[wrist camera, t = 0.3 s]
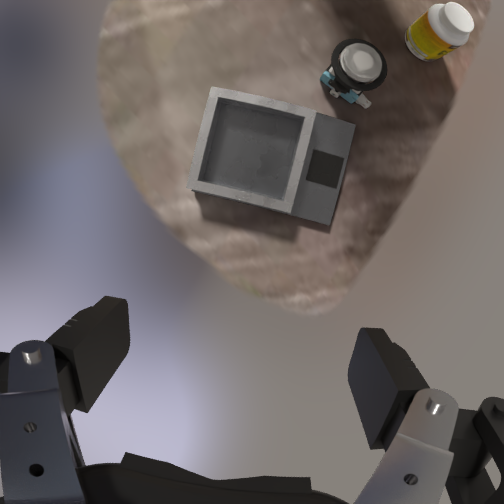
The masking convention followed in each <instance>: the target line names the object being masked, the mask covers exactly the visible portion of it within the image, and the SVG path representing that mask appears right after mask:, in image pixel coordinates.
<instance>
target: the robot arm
mask: <svg viewBox="0 0 504 504" xmlns="http://www.w3.org/2000/svg"><path fill="white" fill-rule="evenodd" d="M129 346H130V330H129V314H128V303H127V301H126V300H125V299H122V298H116V297H110V296H104V297H103V298H102V299H101V300H100V301H99V302H97V303H96V304H95V305H94V306H93V307H92V306H91V307H88V308H86V309H83V310H81V311H79V312H78V313H77V314H75V315H74V316H73V317H72V318H71V320H68V322H66V323H65V325H63V326H62V327H60V328H59V329H58V330H57V331H56V332H55V333H54V334H53V335H51V336H50V337H49V338H48V339H47V340H46V341H45V342H44V341H40V340H30V341H25V342H22V343H20V344H18V345H16V346H15V347H14V348H13V349H12V350H11V352H10V353H6V352H0V467H1V478H2V487H3V495H4V496H3V497H0V504H349V503H347V502H345V501H343V500H341V499H339V498H337V497H335V496H332V495H329V494H327V493H323V492H320V491H316V490H312V489H311V480H310V477H276V476H259V477H250V478H240V479H228V480H212V479H209V478H206V477H204V476H201V475H198V474H195V473H193V472H190V471H187V470H185V469H183V468H180V467H178V466H175V465H173V464H171V463H168V462H163V461H159V460H155V459H150V458H146V457H142V456H138V455H135V454H131V453H127V452H125V455H124V457H123V459H122V461H121V463H102V464H94V465H88V466H86V465H85V462H84V459H83V456H82V453H81V449H80V446H79V443H78V439H77V435H76V432H75V428H74V424H73V420H72V417H71V413H72V411H73V410H74V409H76V410H80V411H82V412H85V413H88V412H89V410H90V409H91V407H92V406H93V404H94V403H95V401H96V400H97V398H98V397H99V395H100V394H101V392H102V391H103V389H104V388H105V386H106V385H107V383H108V382H109V380H110V379H111V377H112V376H113V374H114V373H115V371H116V370H117V369H118V367H119V366H120V364H121V362H122V361H123V360H124V358H125V357H126V355H127V353H128V350H129ZM348 382H349V385H350V388H351V391H352V394H353V397H354V400H355V403H356V406H357V409H358V412H359V415H360V419H361V422H362V424H363V428H364V431H365V434H366V437H367V440H368V444H369V446H370V449H371V450H372V449H384V450H385V455H384V456H383V458H382V460H381V461H380V463H379V465H378V466H377V468H376V470H375V471H374V473H373V474H372V476H371V478H370V479H369V481H368V482H367V484H366V485H365V487H364V489H363V490H362V492H361V493H360V495H359V496H358V498H357V499H356V500H355V502H354V503H353V504H438V503H439V500H440V497H441V495H442V492H443V489H444V486H446V489H447V492H448V495H449V497H450V500H451V503H452V504H504V399H501V398H498V397H489V398H486V399H484V401H483V402H482V404H481V405H480V407H479V409H478V411H475V410H466V409H459V407H458V404H457V402H456V400H455V399H454V398H453V397H452V396H450V395H449V394H448V393H446V392H444V391H441V390H438V389H431V388H430V387H429V386H428V384H427V382H426V381H425V379H424V378H423V376H422V375H421V373H420V372H419V370H418V369H417V368H416V366H415V364H414V363H413V361H411V358H410V357H409V355H408V354H407V352H406V351H405V350H404V349H403V348H401V347H400V346H399V345H397V344H396V343H392V342H391V340H390V338H389V337H388V335H387V334H386V332H385V331H384V330H383V329H381V328H361V329H360V331H359V333H358V336H357V340H356V344H355V347H354V351H353V354H352V357H351V361H350V364H349V368H348ZM492 457H493V459H494V461H495V463H496V465H497V467H498V469H499V471H500V473H501V482H500V485H499V487H498V489H497V490H495V488H494V486H493V484H492V482H491V480H490V477H489V475H488V473H487V471H486V469H485V466H486V465H487V463H488V462H489V461H490V459H491V458H492Z"/></svg>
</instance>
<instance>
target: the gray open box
mask: <svg viewBox="0 0 504 504" xmlns="http://www.w3.org/2000/svg"><path fill="white" fill-rule="evenodd" d="M355 126H356V125H355V124H352V123H349V122H346V121H343V120H340V119H337V118H334V117H330V116H327V115H324V114H320V113H317V112H316V110H313V109H309V108H306V107H302V106H298V105H295V104H291V103H287V102H283V101H279V100H275V99H271V98H266V97H262V96H258V95H253V94H248V93H244V92H239V91H234V90H228V89H223V88H217V87H212V86H211V90H210V93H209V97H208V101H207V104H206V108H205V112H204V116H203V119H202V123H201V127H200V131H199V135H198V139H197V143H196V147H195V151H194V156H193V160H192V164H191V168H190V173H189V177H188V182H187V186H186V188H189V189H192V191H194V192H198V193H203V194H207V195H211V196H216V197H220V198H224V199H228V200H233V201H237V202H241V203H245V204H249V205H253V206H257V207H261V208H265V209H269V210H273V211H277V212H281V213H285V214H289V215H292V216H296V217H300V218H304V219H307V220H311V221H315V222H319V223H322V224H326V225H330V223H331V219H332V216H333V212H334V209H335V205H336V201H337V198H338V194H339V190H340V186H341V183H342V179H343V175H344V171H345V167H346V163H347V159H348V155H349V151H350V147H351V143H352V139H353V134H354V130H355Z"/></svg>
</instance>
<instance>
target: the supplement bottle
mask: <svg viewBox="0 0 504 504" xmlns="http://www.w3.org/2000/svg"><path fill="white" fill-rule="evenodd" d="M473 28H474V22H473V19H472V17H471V15H470V14H469V12H468V11H467V10H466V9H465V8H464V7H462V6H461V5H459V4H457V3H455V2H449V3H447V4H445V5H444V4H435V5H433V6H432V7H430V8H429V9H428V10H427V11H426V12H425V13H424V14H423V15H422V16H420V17H419V18H418V19H417V20H416V21H415V22H414V23H413V24H412V25H411V26H410V27H409V28H408V29H407V30H406V32H405V42H406V44H407V46H408V48H409V50H410V51H411V52H412V53H413V54H414V55H415V56H416V57H418V58H419V59H421V60H424V61H435V60H437V59H439V58H440V57H442V56H444V55H446V54H447V53H449V52H451V51H453V50H454V49H456V48H458V47H460V46H462V45H463V44H465V43H466V42H467V40H468V38H469V33H470V32H471V31H472V30H473Z"/></svg>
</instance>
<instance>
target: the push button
mask: <svg viewBox="0 0 504 504" xmlns="http://www.w3.org/2000/svg"><path fill="white" fill-rule="evenodd" d="M341 52H342V53H341ZM340 53H341V58H340V59H339V61H338V58H339V54H340ZM331 63H332V64H331V65H330V66H329V67H328V68H327V69H326V71H325V72H324V73H323V74H322V76H321V78H320V81H322V82H323V83H325V84H326V85H327V86H329V87H330V88H331V89H332V90H331V91H330V94H332V95H333V96H334V97H336V98H337V97H338V96H339V95H340V96H342V97H343V98H344V99H345V100H347V101H348V102H349V103H351V104H352V103H353V102H356V103H357V104H360V105H361V106H363V107H364V108H365V109H367V107H369V106H370V105H371V104H372V103H371V102H370V101H369V100H368V99H367V98H365V95H363V94H362V92H363V91H369V90H373V89H375V88H377V87H378V86H380V85H381V84H382V83H383V81H384V80H385V78H386V75H387V64H386V61H385V58H384V56H383V55H382V53H381V52H380V51H379V50H378V49H377V48H376V47H375V46H374V45H372V44H371V43H369V42H367V41H364V40H360V39H348V40H345V41H343V42H341V43H339V44H338V45H337V46H336V48H335V49H334V51H333V53H332V58H331ZM373 80H374V81H373ZM369 81H373V82H372V83H369V84H367V83H368V82H369ZM333 93H334V94H335V95H334V94H333ZM366 101H368V103H367V102H366ZM363 104H364V105H365V106H364V105H363Z"/></svg>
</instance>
